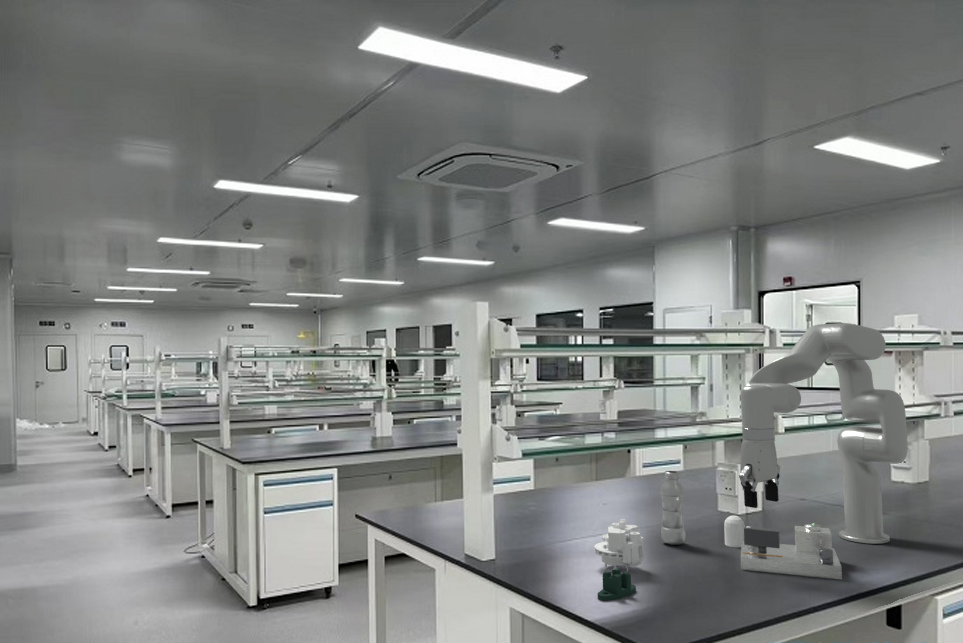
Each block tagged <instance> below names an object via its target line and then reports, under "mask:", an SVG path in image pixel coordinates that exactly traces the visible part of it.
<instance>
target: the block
mask: <svg viewBox="0 0 963 643" xmlns="http://www.w3.org/2000/svg"><path fill="white" fill-rule="evenodd" d="M744 526H745V527H744V545H752V546H758V553H761V554H766V553H767V547H770V548H780V544H781V538H780V537H781V536H780V534H781V533H780V532H781V531H780V529H779V528H778V529H777V528H769V527H757V526H748V525H747V526H746V525H744Z"/></svg>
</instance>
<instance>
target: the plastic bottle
mask: <svg viewBox="0 0 963 643" xmlns="http://www.w3.org/2000/svg"><path fill="white" fill-rule="evenodd" d="M679 475H680V474H679V471H676V470H665V471H664V479H665V481H664V482H663V484H662V485H661V487H660V489H659V491H660V492H659V493H660V498H661V503H662V504H661V505H662V506H661V507H662V521H661V522H662V523H661V530H660V537H661V541H662V542H663V543H665V544H669V545H671V546H674V545H682V544H684V543H685V540H686V536H687V535H686V529H685V527H684V526H685V524H684V513H683V511H684V500H685V499H684V498H685V489H684V486H682V484H681V482H680V480H679V479H680V476H679Z"/></svg>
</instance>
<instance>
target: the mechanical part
mask: <svg viewBox="0 0 963 643" xmlns="http://www.w3.org/2000/svg"><path fill="white" fill-rule="evenodd" d="M626 521H627V520H626V519H624V518H623V519H622V518H620V519H619V521H618V522H612V523H611V525H610V526H608V527H607V530H608V531H607V533H604V534H602V537H601V539H602V540H603V541H601V542H598V543H596V544H594V546H593V547H594V548H593V549H594V550H593V551H594V553H595V554H596V555H598V556H600V557H601V562H602V563H604V569H605V570H607V569H608V565H610V566H612V567H613V570H614V569H617V566H618V567H621V566H623V567H624V568H625V572H629V567H630V568H636V567H637V566H639V565H641V564H642V562H643V561H644V557H645V547H644V546H645V543H644V537H643V536H641V533H640V532H639V527H638V525H635V524H627V522H626Z"/></svg>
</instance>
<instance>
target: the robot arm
mask: <svg viewBox="0 0 963 643" xmlns="http://www.w3.org/2000/svg"><path fill="white" fill-rule="evenodd" d="M886 345H887V344H886V340H885V337H884V335H883V334H882V332H880V331H879V330H877V329H876V328H872V327H869V326H868V327H867V326H863V325H859V324H855V323H849V322H838V323H823V324H822V323H821V324H820V323H819V324H815V325H812V326H810V327H809V328H808V329H806V331H805V332H804V333H803V334H802V336H801V337H799V339H798V341H797V342H796V343H795V344H794V345H793V347H792V348H791V349H790V351H789V352H788V353H786V355H783V356H782V357H779V358H777V359H775V360H773V361H772V362H770V363H768V364H766V365H764V366H763V367H761V368H760V369H758V370H757V371H756V372H755V373H753V375H752V376H751V377H750V378H749V380H748V381H747V383H746V385H744V386H743V387H742V388H741V390H740V407H741V408H740V409H741V412H740V413H741V428H742V431H741V432H742V442H741V447H740V448H741V449H740V469H739V470H740V472H739V474H738V478H739V481H740V485H741V488H742V491H743V498H744V500H743V501H744V502H743V503H744V506H745V507H747V508H751V509H752V508H753V509H757V508H758V507H759V504H758V502H759V501H758V491H756V490H757V486H758V483H763V482H765V484H764V493H765V494H764V495H765V500H766V501H771V502H776V503H778V502H779V482H780V481H779V479H780V476H781V475H780V471H781V465H779V464H778V457H777V450H776V444H775V442H776V434H775V413H777V414H779V413H780V414H788V413H792V412H794V411H796V410H797V409H798V408H799V406H800V405H801V402H802V395H801V392H800V391H799V389H798V388H797V387H796V386H794V385H791V384H792V383H797V382H800V381H801V382H802V381H804V380H807V379H810V378H812V377H814V376H815V375H816V374H817V373H818V371H819V370H820V369H821V367H822V366H823V365H824V363H825V362H826V361H827V359H828V361H829V362H831V364H832V365H833V366H834V368H835V370H836V372H837V375H838V384H839V395H840V408H841V412H842V415H843V417H844V418H845V419H846V420H848V421H850V422H856V423H868V424H880V426H881V428H880V427H873V426H871V427H870V426H857V425H856V426H852V425H851V426H848V427H845V428H842V429H841V430H840V431H839V433H838V434H837V435H838V436H837V440H836V441H837V448H838V451H839V456H840V460H841V469H842V487H843V488H842V489H843V511H844V529H841V530H840V531H839V532H838V536H839V537H840V538H842V540H843V539H844V540H847V541H851V542H856V543H860V544H861V543H862V544H869V545H870V544H873V545H876V544H877V545H879V544H882V545H883V544H886V543H889V542H891V538H890V535H888V534H887V533H884V521H883V520H884V519H883V502H882V501H883V497H882V496H883V495H882V478H881V474H880V472H879V470H878V468H877V466H876V465H875V464H874V462H875V463H881V464H893V465H896V464H901V463H903V462H904V461H905V460H906V458H907V456H908V451H909V450H908V448H909V446H908V445H909V444H908V431H907V430H908V429H907V417H906V416H907V415H906V406H905V403H904V400H903V398H902V396H901V394H899V393H898V392H896V391H895V390H892V389H891V390H889V389H876V388H875V387H874V380H873V372H872V369H871V367H870V366H869V364H868V362H867V361H874V360H877V359H880V358H881V357H882V356H883V354H884V353H885V351H886Z"/></svg>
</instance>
